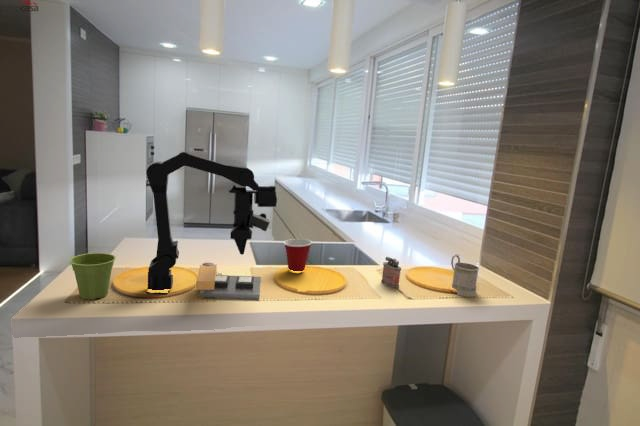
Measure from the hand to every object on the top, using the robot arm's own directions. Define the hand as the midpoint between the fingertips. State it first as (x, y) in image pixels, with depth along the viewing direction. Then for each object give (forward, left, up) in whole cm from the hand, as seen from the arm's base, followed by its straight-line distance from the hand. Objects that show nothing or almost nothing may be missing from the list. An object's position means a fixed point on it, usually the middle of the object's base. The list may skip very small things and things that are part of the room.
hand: (242, 254), depth 135 cm
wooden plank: (-10, -7, -6) cm, 14 cm away
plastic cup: (+19, +20, -12) cm, 30 cm away
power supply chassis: (-3, -1, -12) cm, 12 cm away
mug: (+79, +7, -12) cm, 81 cm away
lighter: (+53, +9, -12) cm, 55 cm away
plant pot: (-42, -10, -12) cm, 44 cm away
